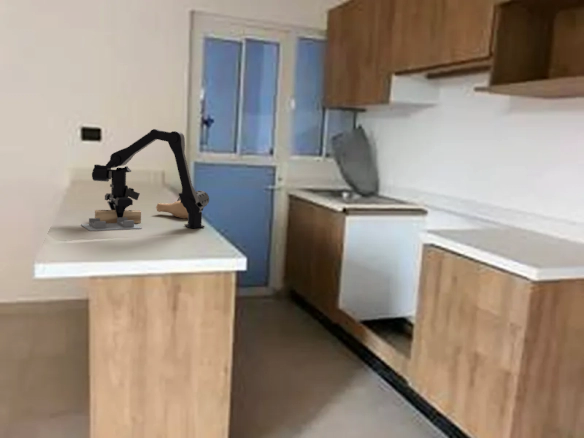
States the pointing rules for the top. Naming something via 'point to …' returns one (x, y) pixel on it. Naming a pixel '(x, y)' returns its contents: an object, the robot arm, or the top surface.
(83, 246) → the top surface
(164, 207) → the squash
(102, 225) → the mount board
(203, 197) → the muzzle brake
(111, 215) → the oak rail
